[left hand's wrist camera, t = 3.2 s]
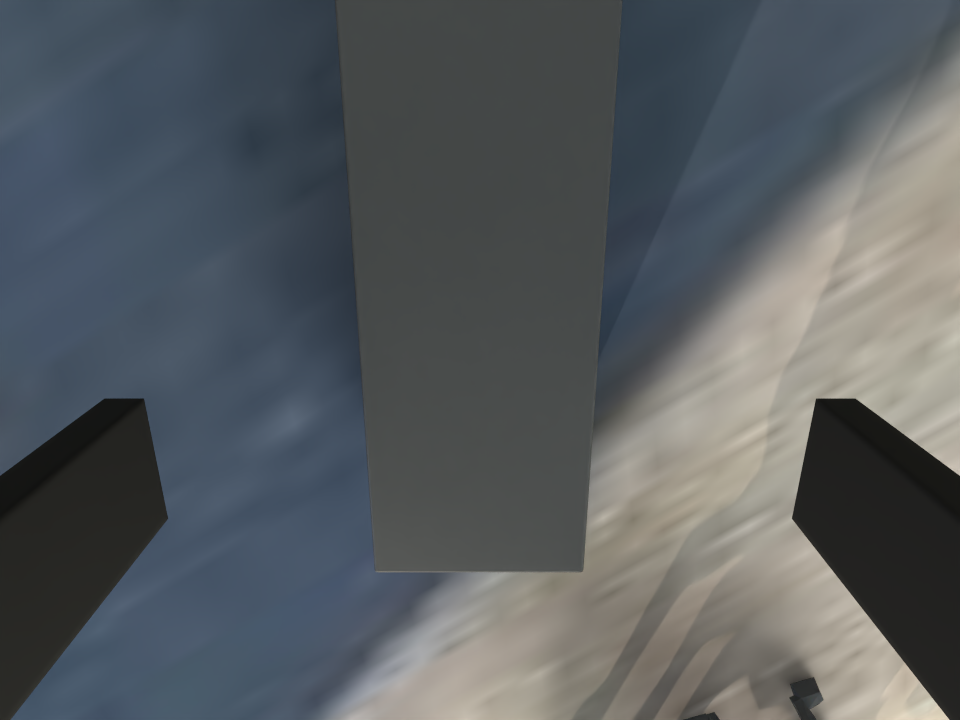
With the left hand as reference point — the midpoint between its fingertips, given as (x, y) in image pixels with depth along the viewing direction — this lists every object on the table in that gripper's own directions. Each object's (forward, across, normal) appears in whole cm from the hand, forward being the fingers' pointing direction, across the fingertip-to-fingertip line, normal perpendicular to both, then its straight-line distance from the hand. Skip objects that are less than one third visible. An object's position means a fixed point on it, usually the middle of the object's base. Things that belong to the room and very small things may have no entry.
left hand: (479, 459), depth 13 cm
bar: (+13, 0, -32) cm, 34 cm away
